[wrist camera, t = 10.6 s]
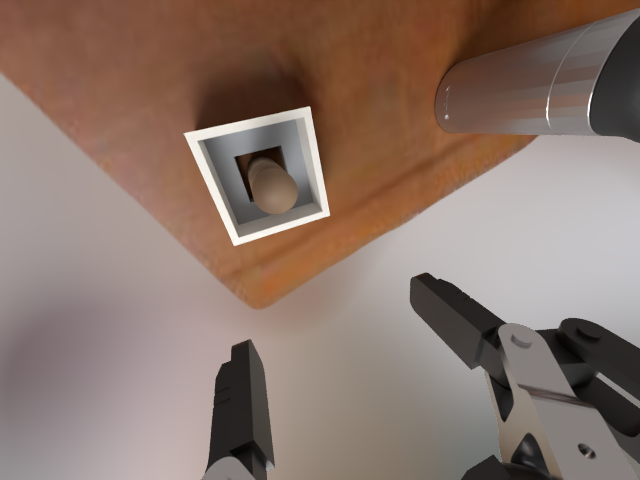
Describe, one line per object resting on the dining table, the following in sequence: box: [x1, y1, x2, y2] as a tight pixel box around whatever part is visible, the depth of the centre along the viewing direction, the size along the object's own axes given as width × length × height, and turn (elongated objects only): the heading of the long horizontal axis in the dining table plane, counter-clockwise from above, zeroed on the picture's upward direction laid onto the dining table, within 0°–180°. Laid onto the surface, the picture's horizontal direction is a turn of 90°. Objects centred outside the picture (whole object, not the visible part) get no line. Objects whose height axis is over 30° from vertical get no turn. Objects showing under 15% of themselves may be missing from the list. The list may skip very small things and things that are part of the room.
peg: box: [247, 156, 298, 214], centre depth 25 cm, size 4×4×11 cm
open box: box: [184, 106, 330, 246], centre depth 27 cm, size 12×12×6 cm
